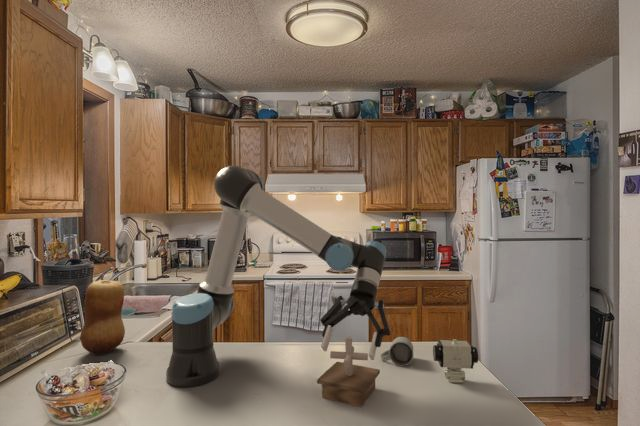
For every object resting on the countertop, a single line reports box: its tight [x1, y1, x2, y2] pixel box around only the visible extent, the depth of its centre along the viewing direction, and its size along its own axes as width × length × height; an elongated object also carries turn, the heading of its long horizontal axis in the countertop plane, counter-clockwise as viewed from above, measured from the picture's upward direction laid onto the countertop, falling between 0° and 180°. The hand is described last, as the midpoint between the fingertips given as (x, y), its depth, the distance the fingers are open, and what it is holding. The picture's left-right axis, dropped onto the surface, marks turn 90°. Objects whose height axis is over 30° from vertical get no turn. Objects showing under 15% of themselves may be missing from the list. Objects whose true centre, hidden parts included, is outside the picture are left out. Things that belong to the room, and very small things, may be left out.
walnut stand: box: [316, 361, 381, 408], centre depth 102 cm, size 13×13×5 cm
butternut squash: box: [79, 279, 126, 356], centre depth 131 cm, size 14×13×25 cm
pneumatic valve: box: [432, 338, 479, 384], centre depth 108 cm, size 6×12×12 cm, turn 83°
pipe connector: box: [329, 336, 369, 376], centre depth 102 cm, size 10×10×10 cm
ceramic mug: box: [379, 336, 414, 367], centre depth 123 cm, size 11×8×8 cm
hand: (346, 353), depth 100 cm, fingers open, 13 cm apart
